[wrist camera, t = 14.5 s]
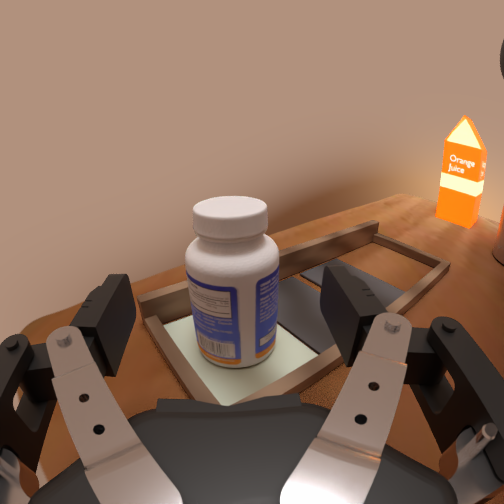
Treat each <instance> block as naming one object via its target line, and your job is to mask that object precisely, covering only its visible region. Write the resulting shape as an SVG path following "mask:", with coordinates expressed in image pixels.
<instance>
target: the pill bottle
mask: <svg viewBox="0 0 504 504" xmlns="http://www.w3.org/2000/svg"><path fill="white" fill-rule="evenodd" d="M267 226H268V215H267V205H266V203H264V202H263V201H261V200H259V199H256V198H251V197H243V196H224V197H215V198H211V199H207V200H203V201H201V202H199V203H197V204H196V205H195V206H194V207H193V229H194V231H195V234H196V235H197V236H198V237H197V238H196V239H195V240H194V241H192V243H191V244H190V245H189V247H188V249H187V250H186V254H185V264H186V273H187V280H188V288H189V295H190V302H191V308H192V314H193V320H194V326H195V332H196V338H197V343H198V346H199V349H200V351H201V353H202V354H203V356H204V357H205V358H206V359H208V360H209V361H210V362H212V363H214V364H217V365H219V366H223V367H229V368H241V367H248V366H252V365H255V364H257V363H259V362H261V361H263V360H264V359H265V358H267V357H268V356H269V354H270V353H271V352H272V350H273V349H274V346H275V342H276V333H277V313H278V287H279V251H278V247H277V245H276V243H275V242H274V241H273V240H272V239H271V238H270V237H269V236H267V235H265V234H264V233H265V232H266V230H267Z"/></svg>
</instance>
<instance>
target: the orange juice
mask: <svg viewBox="0 0 504 504" xmlns="http://www.w3.org/2000/svg"><path fill="white" fill-rule="evenodd" d="M486 156H487V151H486V149H485V147H484V144H483V143H482V140H481V138H480V136H479V134H478V132H477V130H476V128H475V127H474V124H473V122H472V120H471V119H470V118H468V117H467V116H466V115H464V116H463V118H462V119H461V120H460V122H459V123H458V124H457V125H456V127H455V128H454V129H453V131H452V132H451V133H450V134H449V136H448V137H447V138H446V140H445V144H444V156H443V166H442V173H441V181H440V191H439V197H438V204H437V210H436V216H435V217H438V218H441V219H444V220H447V221H450V222H452V223H455V224H458V225H461V226H464V227H466V228H469V229H470V228H471V226H472V225H473V224H474V223H475V222H476V220H477V216H478V211H479V206H480V200H481V195H482V189H483V183H484V174H485V165H486Z"/></svg>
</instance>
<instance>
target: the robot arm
mask: <svg viewBox="0 0 504 504" xmlns="http://www.w3.org/2000/svg"><path fill="white" fill-rule="evenodd" d="M500 67H501V72H502V75H503V78H504V40H503V43H502V47H501V53H500ZM493 255H494V256H495V258H496V259H497V260H498V261H499V262H501V263H502V264H504V206H503V210H502V215H501V220H500V224H499V229H498V233H497V237H496V241H495V245H494V248H493ZM320 309H321V313H322V315H323V317H324V319H325V321H326V323H327V325H328V328H329V330H330V332H331V334H332V336H333V338H334V341H335V343H336V345H337V347H338V349H339V351H340V354H341V356H342V358H343V360H344V362H345V365H346V367H352V366H353V367H352V369H351V371H350V373H349V375H348V377H347V379H346V381H345V384H344V386H343V388H342V390H341V392H340V394H339V396H338V398H337V400H336V402H335V404H334V406H333V407H332V409H331V410H330V409H327V408H324V407H322V406H318V405H314V404H309V403H301V400H300V396H299V393H294V394H285V395H275V396H264V397H261V398H257V399H254V400H250V401H246V402H243V403H239V404H235V405H231V406H224V405H218V404H212V403H207V402H202V401H197V400H192V399H158V401H157V407H156V409H151V410H148V411H144V412H142V413H139V414H137V415H135V416H133V417H131V418H129V419H126V417H125V416H124V414H123V412H122V411H121V409H120V407H119V406H118V404H117V402H116V401H115V399H114V397H113V395H112V393H111V392H110V390H109V388H108V386H107V384H106V382H105V381H104V377H105V376H111V377H116V374H117V371H118V368H119V365H120V362H121V359H122V356H123V353H124V350H125V347H126V345H127V342H128V339H129V336H130V333H131V331H132V328H133V325H134V322H135V319H136V307H135V302H134V298H133V294H132V289H131V285H130V281H129V277H128V275H127V274H110V275H108V277H107V278H106V280H105V281H104V283H103V284H102V286H98V287H97V288H96V289H94V290H93V291H92V292H90V294H89V295H88V297H87V298H86V300H85V302H84V303H83V304H82V306H81V308H80V309H79V311H78V312H77V314H76V315H75V317H74V319H73V320H72V322H71V324H70V325H69V326H65V327H61V328H58V329H56V330H55V331H53V332H52V333H51V334H50V335H49V336H48V338H47V341H46V343H42V344H36V345H30V343H29V341H28V338H27V337H26V336H25V335H23V334H15V335H12V336H10V337H8V338H6V339H5V340H4V341H3V342H2V343H1V345H0V504H484V503H486V502H488V501H489V500H491V499H492V498H494V497H495V496H496V495H498V494H499V493H501V492H502V491H504V379H503V378H502V377H501V375H500V374H499V372H498V371H497V370H496V368H495V367H494V366H493V364H492V363H491V362H490V360H489V359H488V358H487V356H486V355H485V354H484V352H483V351H482V350H481V348H480V347H479V346H478V345H477V343H476V342H475V341H474V340H473V338H472V337H471V336H470V335H469V333H468V332H467V331H466V330H465V329H464V327H463V326H462V325H461V324H460V323H459V322H458V321H456V320H454V319H452V318H449V317H437V318H435V319H433V321H432V323H431V326H430V328H414V327H412V326H411V324H410V322H409V321H408V320H407V319H406V318H405V317H403V316H401V315H399V314H396V313H388V311H387V310H386V309H385V307H384V306H383V305H382V303H381V302H380V301H379V299H378V298H377V297H376V296H375V294H374V293H373V292H372V290H370V288H369V287H368V285H367V284H366V283H365V281H363V280H361V279H360V278H358V277H357V276H351V274H350V273H349V272H348V270H347V269H346V268H345V266H344V265H333V266H325V268H324V271H323V278H322V286H321V294H320ZM447 370H448V372H449V373H450V375H451V376H452V378H453V380H454V383H455V390H453V389H452V387H451V385H450V384H449V382H448V380H447V379H446V377H445V373H446V371H447ZM403 384H409V385H410V387H411V389H412V391H413V393H414V395H415V397H416V399H417V401H418V403H419V405H420V407H421V409H422V411H423V413H424V416H425V418H426V420H427V422H428V424H429V426H430V428H431V431H432V433H433V435H434V437H435V439H436V442H437V444H438V446H439V448H440V451H441V453H442V455H441V457H440V460H439V469H440V471H439V473H437V472H436V471H434V470H432V469H430V468H428V467H426V466H424V465H422V464H421V463H419V462H417V461H415V460H413V459H411V458H410V457H408V456H406V455H404V454H403V453H401V452H399V451H397V450H396V449H394V448H392V447H390V446H389V445H387V444H385V442H386V439H387V437H388V434H389V431H390V428H391V424H392V421H393V418H394V415H395V411H396V408H397V405H398V401H399V397H400V394H401V390H402V386H403ZM18 387H20V388H21V390H22V391H23V392H24V393H23V395H22V398H21V400H20V402H19V405H18V407H17V410H16V412H15V410H14V407H13V398H14V395H15V393H16V391H17V389H18ZM57 399H58V402H59V405H60V408H61V411H62V414H63V416H64V419H65V422H66V424H67V427H68V430H69V432H70V435H71V437H72V440H73V442H74V444H75V447H76V449H77V451H78V453H79V456H80V458H79V459H78V460H76V461H75V462H74V463H73V464H71V465H70V466H69V467H68V468H66V469H65V470H64V471H62V472H61V473H60V474H58V475H57V476H56V477H54V478H53V479H52V480H50V481H49V482H48V483H47V484H45V485H44V486H43V487H41V488H40V489H39V481H38V478H37V476H36V470H37V466H38V462H39V458H40V454H41V450H42V447H43V443H44V440H45V436H46V433H47V430H48V426H49V423H50V420H51V417H52V414H53V411H54V408H55V405H56V402H57Z"/></svg>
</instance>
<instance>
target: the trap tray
mask: <svg viewBox="0 0 504 504" xmlns="http://www.w3.org/2000/svg"><path fill="white" fill-rule="evenodd" d="M378 226H379V222H377V221H374V220H371V221H368V222H365V223H362V224H359V225H356V226H353V227H350V228H347V229H344V230H341V231H338V232H335V233H332V234H329V235H326V236H323V237H320V238H317V239H314V240H310V241H307V242H304V243H301V244H298V245H295V246H292V247H289V248H286V249H283V250H280V251H279V280H281V279H284V278H286V277H289V276H291V275H294V274H296V273H299V272H301V271H304V270H306V269H309V268H311V267H313V266H316V265H318V264H321V263H323V262H326V261H328V260H330V259H333V258H335V257H338V256H340V255H342V254H345V253H347V252H350V251H352V250H354V249H357V248H359V247H361V246H364V245H366V244H368V243H371V242H375V243H377V244H379V245H382V246H384V247H387V248H389V249H392V250H394V251H396V252H399V253H401V254H404V255H406V256H408V257H411V258H413V259H415V260H418V261H420V262H422V263H424V264H427V265H429V266H431V267H433V268H434V269H433V270H432V271H431V272H429V273H428V274H427V275H426V276H425V277H424V278H422V279H421V280H420V281H419V282H418V283H416V284H415V285H414V286H413V287H412V288H410V289H409V290H408V291H407V292H404V291H402V290H400V289H398V288H396V287H394V286H392V285H390V284H388V283H386V282H384V281H382V280H380V279H378V278H376V277H374V276H372V275H370V274H368V273H365V272H363V271H361V270H359V269H357V268H355V267H353V266H351V265H349V264H347V263H345V262H343V261H340V260H338V259H334V260H332V261H329V262H327V263H324V264H322V265H320V266H317V267H315V268H312V269H310V270H308V271H305V272H303V273H300V275H301V276H302V277H304V278H306V279H308V280H309V281H311V282H313V283H315V284H316V285H318V286H320V287H321V286H322V278H323V271H324V268H325V266H333V265H344V266H345V268H346V269H347V270H348V272H349V273H350V274H351V276H357V277H358V278H360V279H361V280H363V281H365V283H366V284H367V285H368V287H369V288H370V290H372V292H373V293H374V294H375V296H376V297H377V298H378V299H379V301H380V302H381V303H382V305H383V306H384V307H385V309H386V310H387V311H388V313H396V314H399V315H401V316H402V315H403V314H404V313H405V312H406V311H407V310H408V309H409V308H411V307H412V306H413V305H414V304H415V303H416V302H417V301H418V300H419V299H420V298H421V297H422V296H423V295H425V294H426V293H427V292H428V291H429V290H430V289H431V288H432V287H433V286H434V285H435V284H436V283H437V282H438V281H439V280H440V279H441V278H442V277H443V276H444V275H445V274H446V273H447V272H448V271H449V268H450V264H451V263H450V262H448V261H445V260H443V259H441V258H438V257H436V256H434V255H431V254H429V253H427V252H424V251H422V250H419V249H417V248H414V247H412V246H410V245H407V244H405V243H402V242H400V241H397V240H394V239H392V238H389V237H387V236H384V235H382V234H379V233H378ZM320 294H321V293H320V292H318V291H316V290H315V289H313V288H311V287H310V286H308V285H306V284H305V283H303V282H301V281H299V280H298V279H296V278H294V277H290V278H288V279H285V280H283V281H280V282H279V287H278V313H277V323H278V324H279V325H281V326H282V327H283V328H285V329H286V330H287V331H288V332H290V333H291V334H292V335H294V336H295V337H296V338H298V339H299V340H300V341H302V342H303V343H304V344H306V345H307V346H308V347H310V348H311V349H312V350H314V351H315V352H316V353H318V354H319V355H317V354H316V353H315V352H313V351H312V350H311V349H309V348H308V347H307V346H305V345H304V344H303V343H301V342H300V341H299V340H297V339H296V338H295V337H293V336H292V335H291V334H290V333H288V332H287V331H286V330H284V329H283V328H282V327H281V326H279V325H278V324H277V333H276V342H275V346H274V349H273V350H272V352H271V353H270V354H269V356H268V357H267V358H265V359H264V360H263V361H261V362H259V363H257V364H255V365H252V366H248V367H241V368H229V367H223V366H219V365H217V364H214V363H212V362H210V361H209V360H208V359H206V358H205V357H204V356H203V354H202V353H201V351H200V349H199V346H198V343H197V338H196V332H195V326H194V320H193V315H191V316H189V317H186V318H183V319H180V320H178V321H175V322H172V323H169V324H166V325H164V326H163V323H166V322H169V321H172V320H175V319H178V318H180V317H183V316H186V315H189V314H191V313H192V308H191V302H190V295H189V288H188V280H186V281H183V282H180V283H177V284H174V285H170V286H167V287H164V288H161V289H158V290H155V291H151V292H148V293H145V294H142V295H139V296H137V300H138V304H139V308H140V312H141V316H142V320H143V323H144V325H145V327H146V328H147V330H148V332H149V334H150V335H151V337H152V339H153V341H154V342H155V344H156V346H157V347H158V349H159V351H160V352H161V354H162V356H163V357H164V359H165V360H166V362H167V364H168V365H169V367H170V368H171V370H172V372H173V373H174V375H175V376H176V378H177V379H178V381H179V382H180V384H181V385H182V387H183V388H184V390H185V391H186V393H187V394H188V396H189V397H190V399H192V400H197V401H202V402H207V403H212V404H218V405H224V406H231V405H235V404H239V403H243V402H246V401H250V400H254V399H257V398H261V397H264V396H275V395H285V394H294V393H300V392H301V391H303V390H304V389H306V388H307V387H309V386H310V385H312V384H313V383H315V382H316V381H318V380H319V379H321V378H322V377H324V376H325V375H327V374H328V373H329V372H331V371H332V370H334V369H335V368H336V367H338V366H339V365H341V364H342V363H343V362H344V360H343V358H342V356H341V354H340V351H339V349H338V347H337V345H336V343H335V341H334V338H333V336H332V334H331V332H330V330H329V328H328V325H327V323H326V321H325V319H324V317H323V315H322V313H321V309H320Z"/></svg>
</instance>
